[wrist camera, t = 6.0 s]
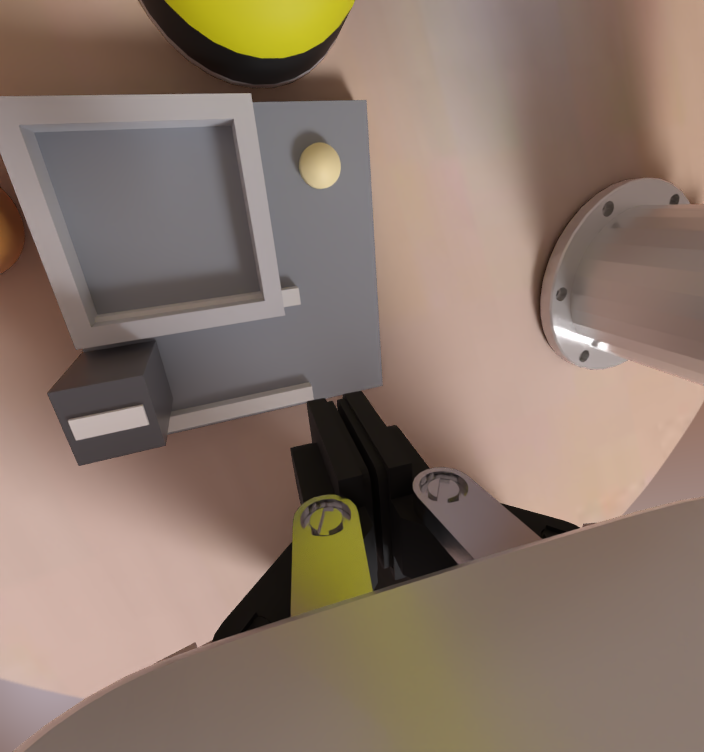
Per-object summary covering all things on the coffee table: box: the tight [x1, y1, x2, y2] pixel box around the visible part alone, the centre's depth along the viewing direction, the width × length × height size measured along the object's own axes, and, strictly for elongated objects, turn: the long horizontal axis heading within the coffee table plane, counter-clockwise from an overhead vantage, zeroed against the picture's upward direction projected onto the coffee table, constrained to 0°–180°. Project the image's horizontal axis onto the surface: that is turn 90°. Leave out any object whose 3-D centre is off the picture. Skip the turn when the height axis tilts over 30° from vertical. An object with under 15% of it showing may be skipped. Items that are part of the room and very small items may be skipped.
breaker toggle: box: [47, 340, 173, 466], centre depth 16 cm, size 3×3×5 cm
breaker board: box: [0, 93, 383, 435], centre depth 18 cm, size 14×14×3 cm
